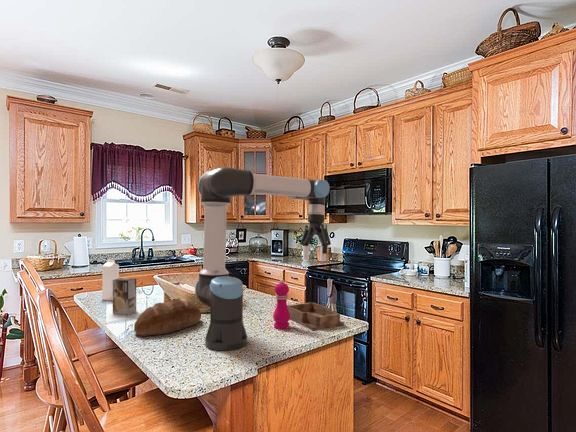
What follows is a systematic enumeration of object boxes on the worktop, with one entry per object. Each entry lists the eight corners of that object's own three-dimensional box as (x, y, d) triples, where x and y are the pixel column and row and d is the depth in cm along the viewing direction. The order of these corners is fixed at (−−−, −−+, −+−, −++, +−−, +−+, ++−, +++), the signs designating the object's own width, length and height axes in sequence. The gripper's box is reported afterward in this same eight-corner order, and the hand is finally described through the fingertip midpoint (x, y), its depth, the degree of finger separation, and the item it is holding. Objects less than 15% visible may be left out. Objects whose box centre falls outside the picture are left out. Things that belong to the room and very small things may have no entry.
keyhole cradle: (312, 330, 149) (312, 318, 149) (284, 316, 170) (284, 305, 170) (344, 325, 157) (344, 313, 157) (313, 312, 178) (313, 302, 178)
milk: (111, 297, 209) (111, 258, 209) (118, 298, 206) (119, 259, 207) (101, 299, 203) (102, 259, 204) (109, 300, 201) (110, 260, 201)
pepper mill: (288, 330, 149) (288, 281, 149) (271, 329, 151) (271, 280, 151) (291, 325, 156) (291, 278, 156) (275, 324, 158) (275, 277, 158)
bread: (209, 323, 160) (209, 296, 160) (148, 341, 136) (149, 310, 136) (186, 317, 169) (186, 292, 169) (126, 333, 145) (126, 304, 145)
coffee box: (137, 311, 178) (137, 278, 178) (128, 314, 172) (128, 280, 172) (120, 310, 180) (121, 277, 181) (111, 313, 174) (111, 279, 174)
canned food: (180, 306, 190) (180, 282, 190) (164, 307, 187) (164, 283, 187) (178, 302, 197) (178, 280, 197) (163, 303, 194) (163, 281, 194)
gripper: (340, 213, 162) (337, 262, 159) (307, 216, 183) (305, 259, 181) (326, 211, 158) (324, 261, 155) (294, 215, 179) (292, 258, 177)
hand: (314, 260), depth 168 cm, fingers open, 13 cm apart
